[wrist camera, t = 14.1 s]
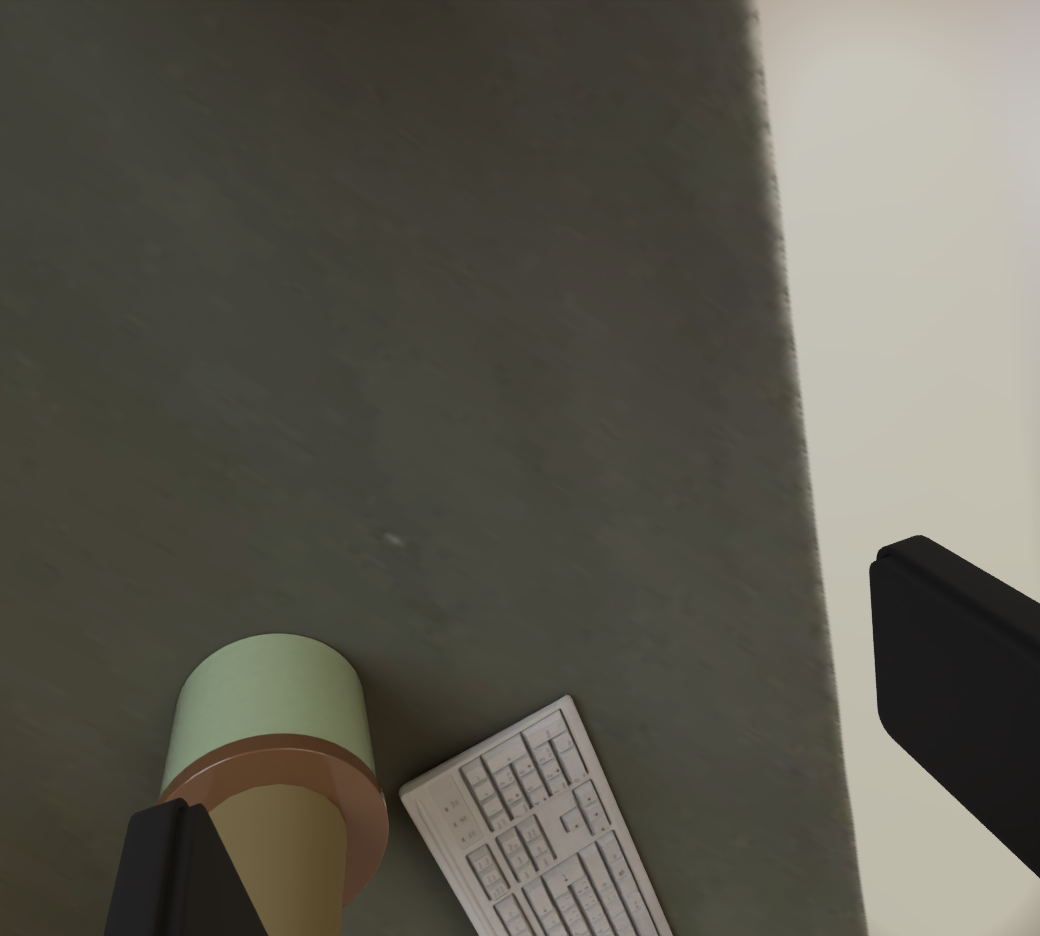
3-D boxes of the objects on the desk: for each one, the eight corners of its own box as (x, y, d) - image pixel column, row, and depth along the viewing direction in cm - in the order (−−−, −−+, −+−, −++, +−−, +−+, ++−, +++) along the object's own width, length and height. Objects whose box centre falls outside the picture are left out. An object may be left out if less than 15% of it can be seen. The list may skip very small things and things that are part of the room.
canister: (126, 720, 40) (87, 865, 32) (276, 592, 40) (276, 705, 32) (269, 821, 44) (266, 972, 36) (406, 705, 44) (435, 831, 36)
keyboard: (701, 1003, 58) (714, 1030, 56) (566, 1076, 57) (575, 1106, 55) (567, 690, 46) (579, 712, 44) (394, 775, 45) (398, 801, 43)
